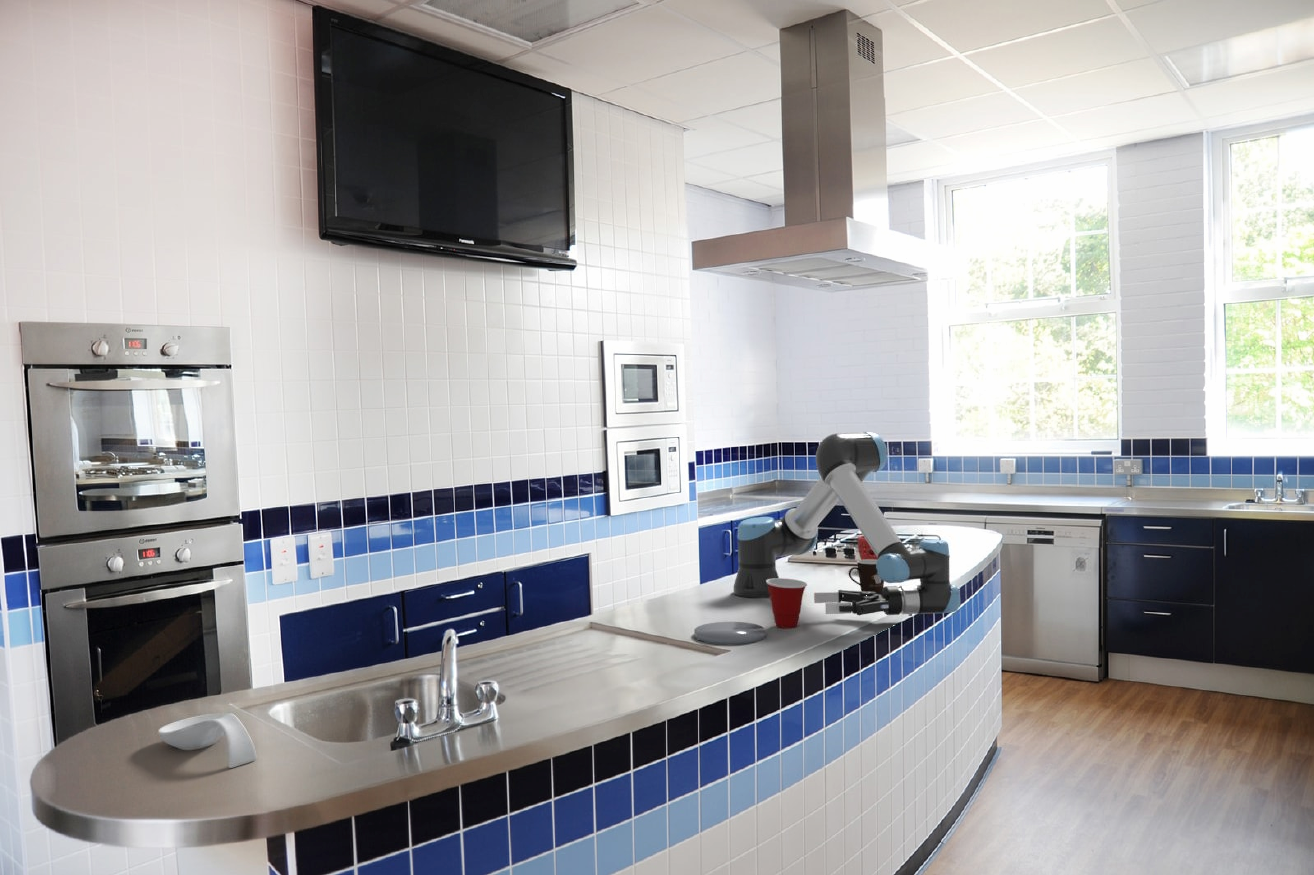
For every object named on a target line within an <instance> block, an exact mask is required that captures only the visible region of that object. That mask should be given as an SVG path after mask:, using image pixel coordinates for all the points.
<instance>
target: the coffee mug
mask: <svg viewBox="0 0 1314 875" xmlns="http://www.w3.org/2000/svg"><path fill="white" fill-rule="evenodd" d="M856 564H857V567H856V566H854V567H851V568H850V569H849V570H848V577H849V579H851V581H853V583H855V584H856V585H858V586H860V591H866V592H868V591H873V592H875V593H876V594H879V595H880V594H881V593H882V589H883V588H884V587H885V586H884V584H885V581H883V580H882V579H881V578H880V577H879V575H878V573H877V572H878V571H877V569H876V564H877V560H874V559H867V560H861V559H859V560H857V561H856ZM853 570H857V572H858V578H859V581H857V580H856V579H854V578H853V576H852V575H851V573H852V571H853Z"/></svg>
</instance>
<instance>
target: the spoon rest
mask: <svg viewBox="0 0 1314 875" xmlns="http://www.w3.org/2000/svg"><path fill="white" fill-rule="evenodd" d="M157 734H158V735H159V737H160V738H161V740H162V741H164V742H165V743H166V744H168V745H170V746H172V747H175V748H178V749H180V750H182V751H193V750H194V751H195V750H200V749H203V748H207V747H210V746H213V745H214V744H215V743H217V741H218V740H219V739H220V738H222V737H223V736H224V735H225V738H226V739H225V740H226V741H227V761H228V762H227V763H228V764H227V765H228V766H227V767H228V768H229V769H232V768H236V767H239V766H242V765H246V764H249V763H251V762H254V761H256V760H257V758H258V756H257V752H256V747H255V744H254V742H253V740H252V738H251V736H250V734H249V732H248V731H247V729H246V727H245V726H244V724H243V723H242V721H241V720H240V719H239V718H238V717H237V716H236V715H235V714H233V713H231V712H230V713H209V714H208V713H207V714H201V715H196V716H192V717H188V718H187V717H186V718H184V719H180V720H176V721H174V722H171V723H168V724H166V725H164V726H162V727H160V728H159V729H158V731H157Z"/></svg>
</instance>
